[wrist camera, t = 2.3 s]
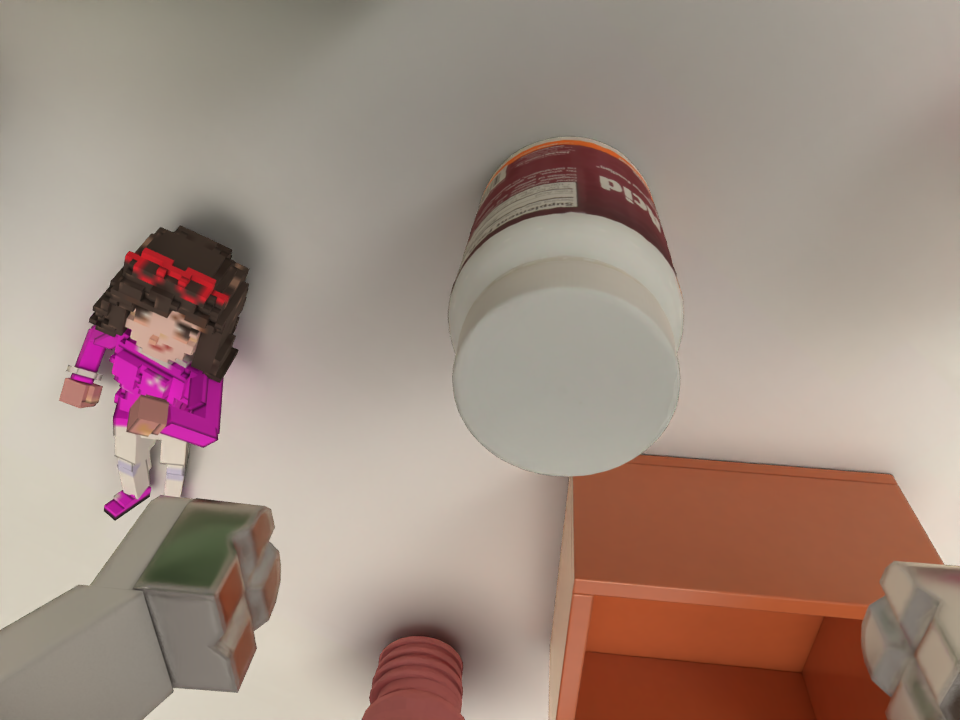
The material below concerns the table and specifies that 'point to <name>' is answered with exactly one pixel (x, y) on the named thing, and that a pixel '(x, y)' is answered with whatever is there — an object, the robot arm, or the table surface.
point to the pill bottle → (566, 313)
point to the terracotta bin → (723, 591)
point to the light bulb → (417, 682)
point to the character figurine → (162, 355)
